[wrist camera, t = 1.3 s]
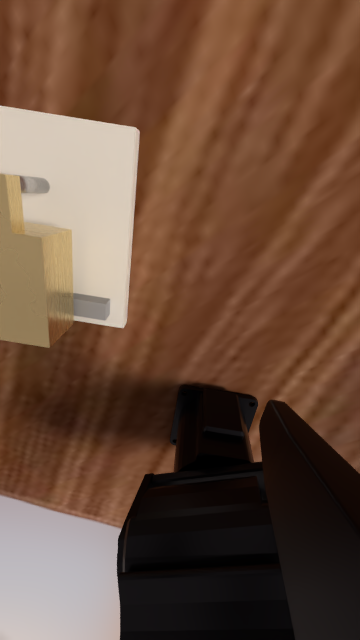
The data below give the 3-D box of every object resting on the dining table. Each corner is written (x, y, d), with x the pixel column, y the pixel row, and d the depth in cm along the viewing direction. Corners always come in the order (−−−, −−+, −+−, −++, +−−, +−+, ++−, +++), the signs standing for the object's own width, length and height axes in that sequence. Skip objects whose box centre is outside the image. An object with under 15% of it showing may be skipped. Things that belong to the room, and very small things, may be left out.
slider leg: (79, 317, 19) (49, 347, 15) (22, 308, 19) (-22, 336, 15) (77, 183, 15) (38, 179, 12) (7, 172, 15) (-55, 164, 12)
